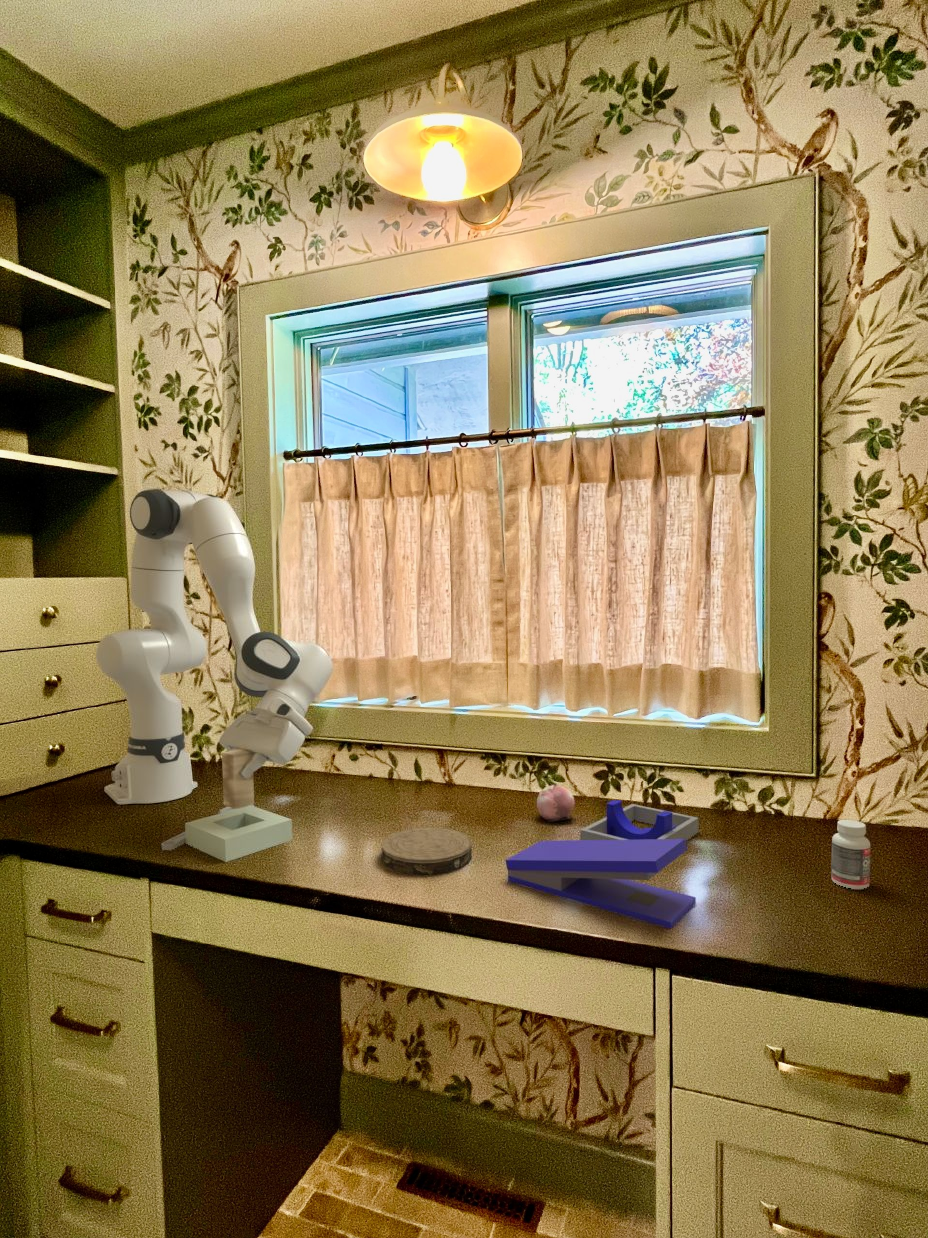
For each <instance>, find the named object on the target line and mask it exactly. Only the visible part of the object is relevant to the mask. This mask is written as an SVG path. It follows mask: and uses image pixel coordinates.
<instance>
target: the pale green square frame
mask: <svg viewBox="0 0 928 1238" xmlns="http://www.w3.org/2000/svg"><path fill="white" fill-rule="evenodd" d="M254 806H255V805H254ZM254 806H251V805H247V806H244V807H240V808H237V809H235V810H231V811H227V812H224V813H220V814H218V813H217V814H214V815H210V816H206V817H202V818H198V819H195V820H192V821H187V822H185V825H184V826H185V827H184V828H185V830H184V832H185V833H186V843H185V845H187V844H188V845H187V846H189V845H190V846H189V847H192V846H193V847H192V848H194V849H196V848H197V849H196V850H198V849H199V850H198V851H200V852H203V853H205V854H207V855H209V856H212V857H214V858H216V859H218V860H221V861H223V862H225V863H228V862H231V861H234V860H236V859H239V858H243V857H245V856H248V855H251V854H254V853H257V852H261V851H263V850H267V849H270V848H273V847H275V846H278V845H282V844H285V843H288V842H291V841H293V822H292V821H293V819H292V818H288V817H286V816H283V815H280V814H277V813H275V812H271V811H269V810H265V809H263V808H260V807H257V806H255V807H254Z"/></svg>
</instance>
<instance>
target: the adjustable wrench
mask: <svg viewBox="0 0 928 1238" xmlns="http://www.w3.org/2000/svg"><path fill="white" fill-rule="evenodd" d="M251 806H254V807H256V806H255V804H251ZM236 809H238V808H236ZM231 810H235V809H234V808H231V807H228V806H225V807H223V808H221V809H218V812H217V814H220V813H224V812H227V811H231ZM184 843H185V844H186V833H185V831H183V832H181V833H179V834H177V835H175V836H173V837H171V838H169V839H167V840H165V841H163V842H161V850H162V851H164V850H169V851H172V849H173V850H176V849H178V848H179V847H181V846H183V845H185V844H184ZM182 844H183V845H182ZM180 845H181V846H180ZM178 846H179V847H178ZM177 847H178V848H177ZM175 848H176V849H175Z"/></svg>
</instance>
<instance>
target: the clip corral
mask: <svg viewBox="0 0 928 1238" xmlns="http://www.w3.org/2000/svg"><path fill="white" fill-rule="evenodd" d="M622 808H623V811H624V814H625V816H626V817H627V819H628V820H629V821H630V822H631V823H633V822H634V820H635V822H640V823H643V822H644V823H643V824H647V823H649V824H648V825H652V824H653V825H652V826H654V825H655V823H656V818H657V814H659V813H661V812H663V811H665V810H663V809H658V808H653V807H650V806H649V807H648V806H644V805H640V804H639V805H638V804H635V803H631V804H629V805H626V807H622ZM666 811H667V810H666ZM667 812H669V810H668V811H667ZM671 812H672V826H675V827H676V828H675V829H673V830H671V831H669V832H668V833H666V834H664V835H663V836H661V837H659V838H658V839H685V841H686V840H687V841H689V840H690V839H692V838H693V837H695V836H696V835H697V834H696V833H698V834H699V817H697V816H691V815H687V814H681V813H677V812H673V811H671ZM632 821H633V822H632ZM579 833H580V834H579V835H580V838H579V840H628V839H624V838H620V837H616V836H612V835H608V834H607V816H604V817H603V818H601V819H599V820H597V821H595V822H593V823H591V824H590V825H586V826H585V827H583V828H581V829H580V831H579ZM695 834H696V835H695ZM694 835H695V836H694ZM692 836H693V837H692ZM691 837H692V838H691ZM689 838H690V839H689ZM688 839H689V840H688ZM687 841H686V842H687Z"/></svg>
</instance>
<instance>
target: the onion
mask: <svg viewBox="0 0 928 1238" xmlns="http://www.w3.org/2000/svg"><path fill="white" fill-rule="evenodd" d="M575 804H576V801H575V798H574V795H573V794H572V793H571V791H569V789H566V788H565V787H563V786H559V785H555V784H551V785H550V786H545V787H544V788H542V790H540V791H539V792H538V796H537V798H536V808H537V810H538V813H539V814H540V816H541V817H542V818H543V819H544V820H546V821H548V823H552V822H558V821H565V820H568V819H571V817H570V813H572V811H573V810H574V809H575V808H574V807H575V806H576V805H575Z"/></svg>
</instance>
